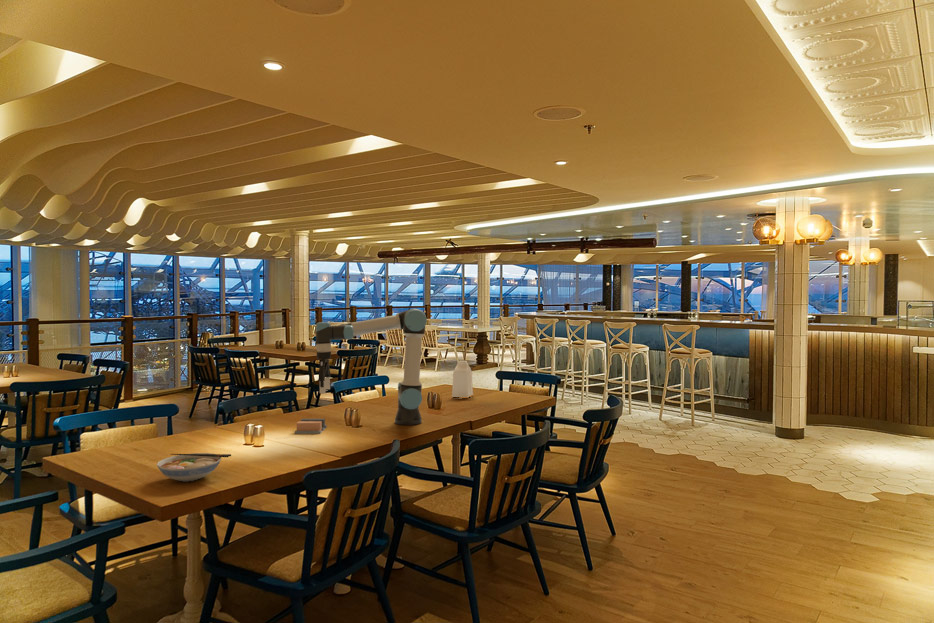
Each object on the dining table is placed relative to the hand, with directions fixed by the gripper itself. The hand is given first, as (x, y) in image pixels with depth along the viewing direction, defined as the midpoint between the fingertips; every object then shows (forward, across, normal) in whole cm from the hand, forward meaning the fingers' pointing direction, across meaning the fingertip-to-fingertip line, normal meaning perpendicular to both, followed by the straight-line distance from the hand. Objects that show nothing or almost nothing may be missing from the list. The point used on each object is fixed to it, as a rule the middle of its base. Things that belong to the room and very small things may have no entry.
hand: (325, 391), depth 315 cm
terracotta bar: (+20, +8, -7) cm, 22 cm away
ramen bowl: (+20, +85, -36) cm, 94 cm away
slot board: (+21, +4, -7) cm, 22 cm away
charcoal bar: (+20, 0, -7) cm, 21 cm away
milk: (+24, -106, +77) cm, 133 cm away
